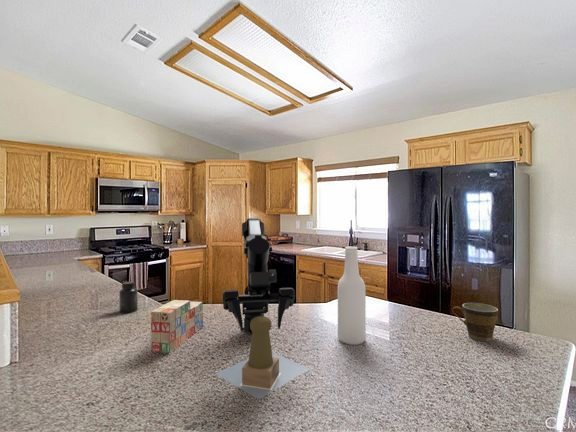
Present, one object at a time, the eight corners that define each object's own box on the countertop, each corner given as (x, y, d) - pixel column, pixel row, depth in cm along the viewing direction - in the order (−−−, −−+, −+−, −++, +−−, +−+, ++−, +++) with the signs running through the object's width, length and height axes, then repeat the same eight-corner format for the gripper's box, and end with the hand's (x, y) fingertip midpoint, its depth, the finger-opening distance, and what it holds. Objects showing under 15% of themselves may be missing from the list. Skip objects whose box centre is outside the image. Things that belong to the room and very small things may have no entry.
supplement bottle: (132, 307, 135) (132, 280, 135) (140, 310, 131) (140, 282, 131) (116, 311, 129) (116, 283, 129) (124, 314, 125) (124, 285, 125)
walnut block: (253, 370, 80) (253, 354, 80) (279, 373, 78) (279, 357, 78) (242, 384, 73) (242, 367, 73) (270, 388, 71) (270, 371, 71)
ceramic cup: (495, 334, 103) (495, 304, 103) (501, 346, 94) (501, 313, 94) (451, 328, 109) (451, 300, 109) (453, 339, 100) (453, 308, 100)
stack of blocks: (187, 326, 112) (187, 292, 112) (203, 327, 111) (203, 293, 111) (150, 352, 91) (150, 310, 91) (170, 353, 90) (169, 311, 90)
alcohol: (332, 337, 102) (332, 246, 101) (354, 332, 105) (354, 245, 105) (347, 347, 94) (347, 249, 93) (371, 342, 97) (371, 247, 97)
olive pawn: (244, 360, 76) (244, 316, 76) (266, 354, 79) (266, 312, 79) (254, 371, 71) (254, 323, 71) (277, 364, 74) (277, 319, 74)
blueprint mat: (266, 351, 91) (266, 349, 91) (309, 369, 80) (309, 368, 80) (214, 374, 78) (214, 373, 78) (258, 400, 67) (258, 399, 67)
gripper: (222, 259, 79) (220, 316, 69) (294, 257, 82) (302, 312, 72) (224, 283, 87) (222, 337, 77) (289, 280, 90) (296, 332, 80)
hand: (260, 329), depth 76 cm, fingers open, 9 cm apart
